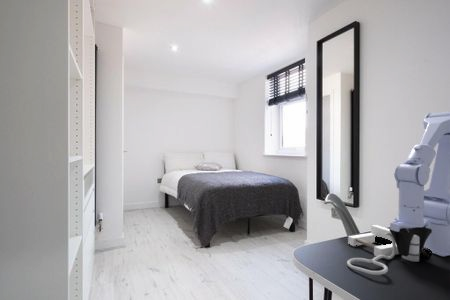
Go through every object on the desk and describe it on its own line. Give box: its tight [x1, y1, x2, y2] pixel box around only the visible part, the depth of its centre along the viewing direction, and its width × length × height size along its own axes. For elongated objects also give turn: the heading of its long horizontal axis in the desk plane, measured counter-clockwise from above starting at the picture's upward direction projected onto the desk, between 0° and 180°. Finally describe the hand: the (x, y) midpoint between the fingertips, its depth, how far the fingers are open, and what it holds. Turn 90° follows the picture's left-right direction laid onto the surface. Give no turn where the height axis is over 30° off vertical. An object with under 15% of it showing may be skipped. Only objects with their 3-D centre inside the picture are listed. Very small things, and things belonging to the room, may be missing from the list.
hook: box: [346, 232, 396, 276], centre depth 65 cm, size 7×9×20 cm
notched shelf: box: [347, 224, 400, 257], centre depth 76 cm, size 13×11×5 cm
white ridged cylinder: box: [400, 235, 421, 263], centre depth 69 cm, size 4×4×6 cm
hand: (410, 253), depth 69 cm, fingers open, 5 cm apart
